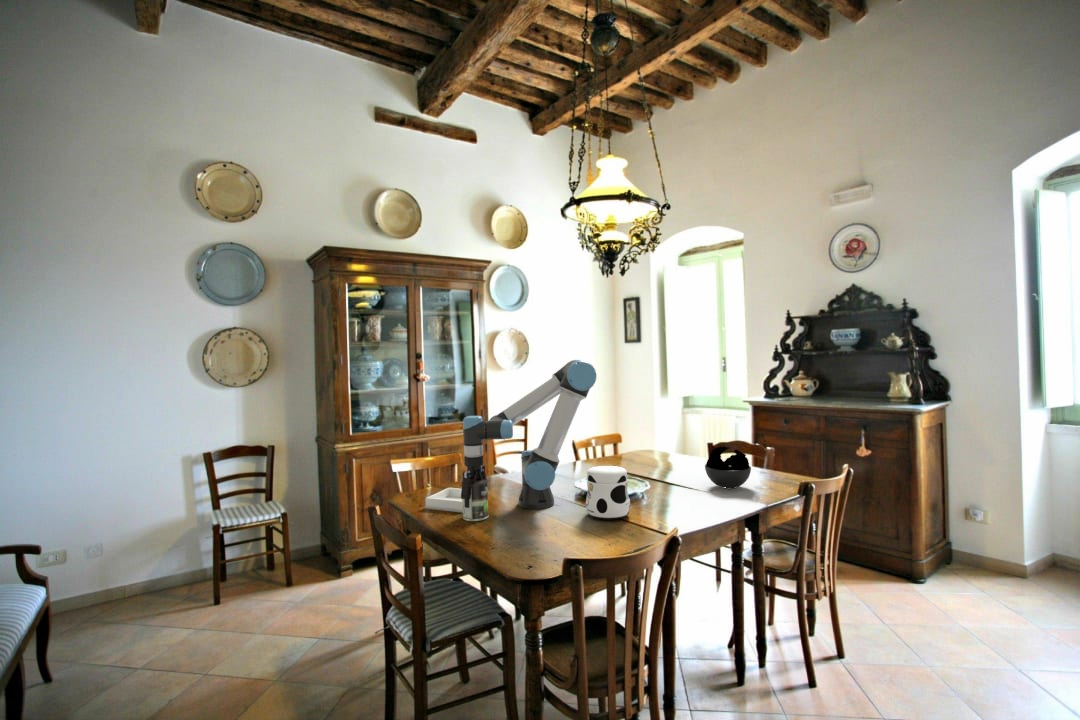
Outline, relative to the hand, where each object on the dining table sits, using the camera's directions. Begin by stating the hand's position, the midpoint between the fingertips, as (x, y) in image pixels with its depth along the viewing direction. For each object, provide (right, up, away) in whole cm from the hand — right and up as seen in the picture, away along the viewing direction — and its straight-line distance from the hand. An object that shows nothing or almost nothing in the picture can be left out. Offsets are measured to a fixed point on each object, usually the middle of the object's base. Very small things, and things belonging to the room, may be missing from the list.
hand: (475, 511), depth 212 cm
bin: (-11, -2, +19) cm, 22 cm away
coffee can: (0, -3, 0) cm, 3 cm away
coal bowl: (+112, +1, +35) cm, 117 cm away
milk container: (+52, -1, -2) cm, 52 cm away
